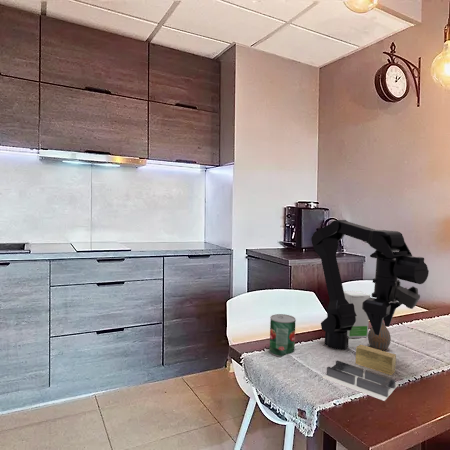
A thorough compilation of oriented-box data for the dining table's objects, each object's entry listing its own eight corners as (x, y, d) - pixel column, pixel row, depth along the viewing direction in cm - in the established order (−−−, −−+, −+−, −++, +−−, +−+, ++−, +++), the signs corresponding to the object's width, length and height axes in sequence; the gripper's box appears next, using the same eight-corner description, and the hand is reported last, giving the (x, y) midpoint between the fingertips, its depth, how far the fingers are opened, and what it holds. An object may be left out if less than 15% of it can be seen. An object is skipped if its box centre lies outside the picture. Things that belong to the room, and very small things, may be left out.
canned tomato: (299, 356, 111) (300, 321, 110) (275, 358, 109) (277, 322, 108) (287, 346, 119) (288, 313, 118) (265, 348, 116) (266, 314, 116)
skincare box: (347, 338, 127) (349, 295, 126) (338, 332, 133) (340, 290, 132) (369, 337, 128) (371, 294, 128) (358, 331, 135) (360, 290, 134)
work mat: (321, 381, 95) (321, 377, 95) (339, 367, 104) (339, 364, 103) (384, 405, 85) (384, 400, 85) (398, 388, 93) (398, 384, 93)
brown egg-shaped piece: (388, 346, 121) (390, 320, 121) (391, 353, 115) (392, 327, 114) (366, 342, 123) (368, 317, 123) (367, 350, 117) (369, 324, 116)
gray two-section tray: (326, 375, 97) (326, 367, 97) (336, 367, 102) (337, 360, 102) (386, 396, 86) (387, 388, 86) (395, 387, 91) (395, 379, 91)
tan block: (355, 367, 105) (356, 347, 104) (359, 364, 107) (360, 344, 106) (391, 379, 98) (392, 357, 98) (394, 375, 100) (396, 354, 100)
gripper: (409, 287, 88) (404, 348, 89) (426, 276, 102) (421, 329, 103) (363, 278, 95) (359, 336, 96) (385, 269, 109) (381, 319, 111)
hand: (382, 330), depth 101 cm, fingers open, 9 cm apart
